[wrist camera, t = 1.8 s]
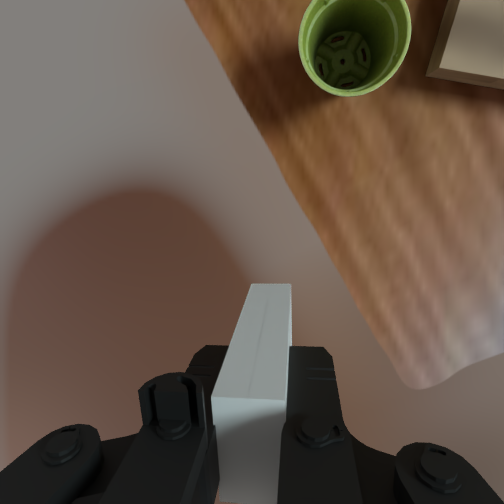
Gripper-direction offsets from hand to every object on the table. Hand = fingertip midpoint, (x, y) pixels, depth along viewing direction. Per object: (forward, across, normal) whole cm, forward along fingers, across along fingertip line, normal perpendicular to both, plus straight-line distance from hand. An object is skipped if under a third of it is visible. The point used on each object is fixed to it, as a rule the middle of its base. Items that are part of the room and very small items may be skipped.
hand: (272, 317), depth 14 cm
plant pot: (+31, +6, +16) cm, 35 cm away
